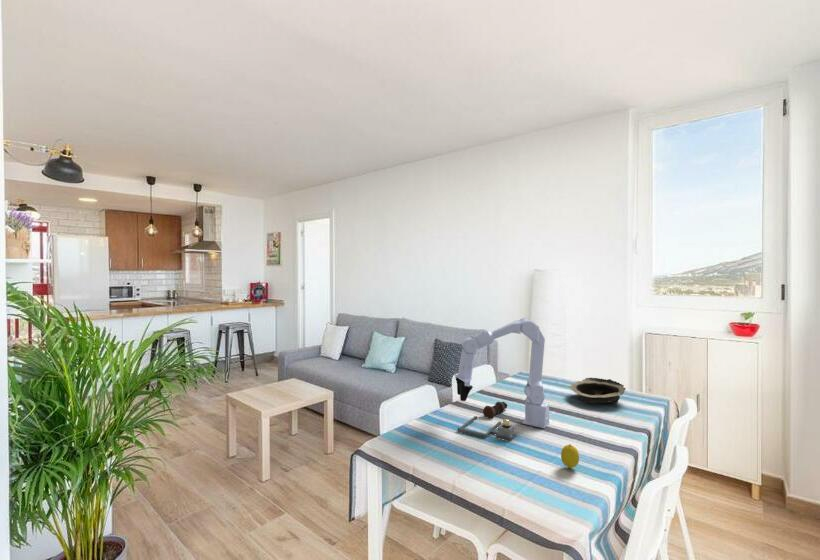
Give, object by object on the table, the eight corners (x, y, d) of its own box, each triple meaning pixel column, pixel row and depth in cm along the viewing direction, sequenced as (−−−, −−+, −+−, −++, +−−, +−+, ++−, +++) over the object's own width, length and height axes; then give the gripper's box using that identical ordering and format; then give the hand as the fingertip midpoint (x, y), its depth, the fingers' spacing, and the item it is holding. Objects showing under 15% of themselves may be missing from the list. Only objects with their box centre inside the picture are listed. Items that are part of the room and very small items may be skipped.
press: (522, 429, 164) (522, 418, 164) (508, 444, 150) (508, 433, 149) (474, 418, 175) (475, 408, 175) (457, 431, 161) (457, 421, 161)
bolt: (505, 413, 187) (489, 421, 175) (497, 405, 189) (480, 413, 178) (511, 404, 185) (495, 411, 173) (503, 396, 187) (486, 403, 176)
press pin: (510, 426, 156) (510, 419, 156) (508, 428, 154) (508, 421, 154) (504, 425, 158) (504, 418, 158) (502, 427, 156) (502, 420, 156)
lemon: (557, 464, 135) (558, 441, 134) (573, 464, 135) (574, 440, 135) (565, 473, 129) (566, 448, 129) (582, 472, 130) (582, 448, 129)
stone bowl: (627, 397, 202) (627, 380, 201) (622, 417, 181) (623, 397, 180) (574, 389, 215) (575, 372, 214) (564, 406, 194) (565, 387, 193)
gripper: (454, 360, 178) (449, 390, 178) (459, 369, 163) (454, 402, 164) (470, 362, 178) (465, 392, 179) (476, 372, 164) (471, 404, 164)
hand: (461, 397), depth 171 cm, fingers open, 7 cm apart
